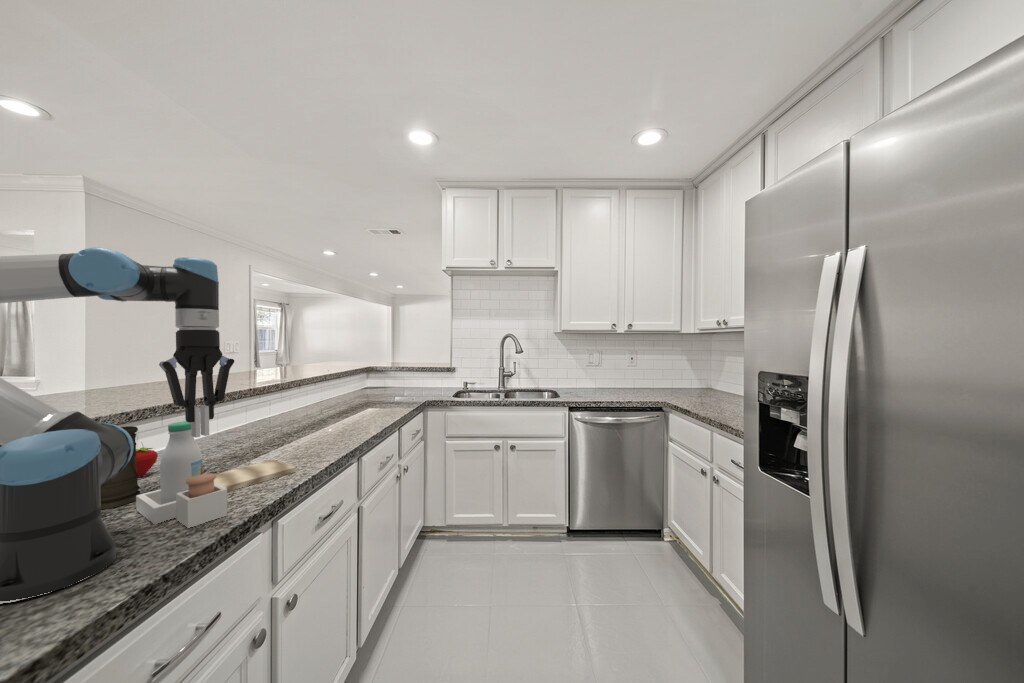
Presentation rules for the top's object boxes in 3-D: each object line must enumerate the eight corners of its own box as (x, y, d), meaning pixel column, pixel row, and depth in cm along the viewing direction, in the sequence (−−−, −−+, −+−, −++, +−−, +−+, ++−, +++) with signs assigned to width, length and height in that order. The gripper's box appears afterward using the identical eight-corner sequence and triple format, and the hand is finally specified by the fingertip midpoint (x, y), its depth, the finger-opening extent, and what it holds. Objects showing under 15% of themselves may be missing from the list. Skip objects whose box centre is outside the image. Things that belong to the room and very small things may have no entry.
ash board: (225, 492, 100) (225, 486, 100) (204, 482, 108) (204, 477, 108) (295, 472, 115) (295, 467, 115) (272, 464, 123) (272, 459, 123)
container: (107, 511, 90) (105, 434, 90) (78, 508, 92) (76, 433, 92) (150, 495, 99) (149, 426, 99) (123, 493, 101) (121, 425, 101)
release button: (191, 509, 82) (191, 483, 82) (182, 504, 85) (182, 478, 85) (220, 500, 86) (220, 476, 86) (211, 496, 89) (210, 471, 89)
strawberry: (123, 477, 114) (122, 443, 114) (158, 470, 119) (157, 438, 119) (122, 482, 109) (121, 447, 109) (158, 475, 114) (157, 442, 114)
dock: (168, 535, 78) (167, 506, 78) (136, 510, 90) (135, 484, 90) (243, 510, 89) (242, 484, 89) (205, 491, 101) (205, 468, 101)
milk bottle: (180, 514, 88) (178, 426, 88) (151, 512, 89) (149, 426, 89) (211, 500, 95) (209, 419, 95) (185, 499, 97) (183, 419, 97)
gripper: (162, 328, 77) (164, 445, 78) (241, 329, 89) (243, 431, 89) (150, 329, 82) (153, 440, 82) (227, 330, 93) (229, 427, 93)
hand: (200, 435), depth 85 cm, fingers closed
